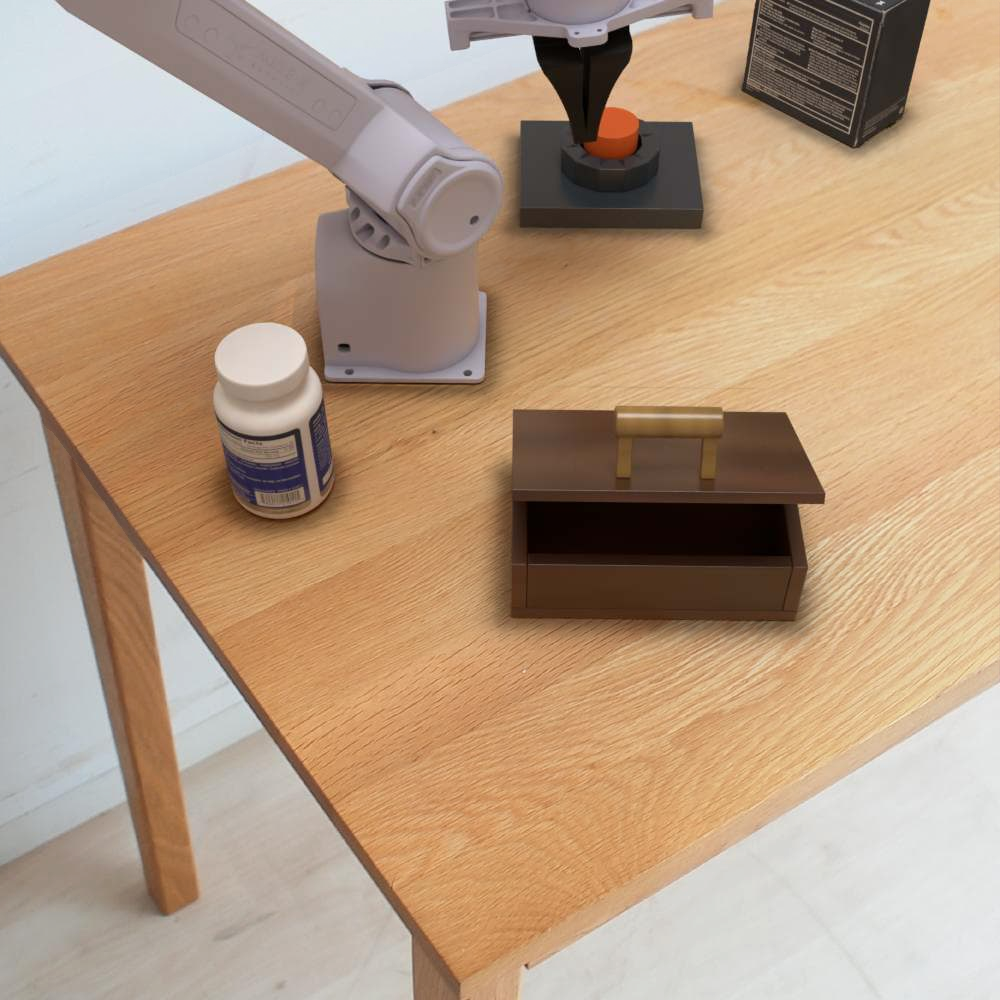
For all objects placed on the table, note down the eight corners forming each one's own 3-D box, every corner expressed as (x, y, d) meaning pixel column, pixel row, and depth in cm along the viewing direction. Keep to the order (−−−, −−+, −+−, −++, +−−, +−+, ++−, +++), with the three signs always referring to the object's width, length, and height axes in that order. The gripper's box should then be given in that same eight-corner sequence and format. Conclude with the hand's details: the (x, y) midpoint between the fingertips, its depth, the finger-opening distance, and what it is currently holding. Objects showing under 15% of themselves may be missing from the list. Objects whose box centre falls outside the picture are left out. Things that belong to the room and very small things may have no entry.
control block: (519, 228, 95) (520, 184, 93) (520, 140, 102) (520, 97, 99) (701, 230, 95) (707, 186, 93) (690, 142, 102) (695, 98, 99)
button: (583, 160, 95) (585, 137, 94) (582, 129, 98) (583, 106, 96) (638, 161, 95) (640, 138, 94) (635, 129, 97) (637, 107, 96)
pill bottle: (283, 432, 83) (262, 299, 75) (356, 479, 80) (341, 346, 73) (210, 489, 80) (180, 357, 73) (283, 540, 78) (260, 408, 70)
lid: (824, 504, 67) (833, 422, 66) (511, 501, 67) (512, 419, 66) (785, 422, 77) (791, 348, 76) (512, 419, 77) (513, 346, 76)
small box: (909, 115, 104) (942, -21, 96) (855, 151, 101) (884, 14, 93) (792, 57, 109) (815, -76, 101) (737, 91, 106) (756, -44, 98)
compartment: (795, 620, 74) (808, 568, 71) (510, 617, 74) (511, 564, 71) (773, 475, 81) (784, 421, 77) (512, 473, 81) (512, 418, 78)
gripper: (443, -23, 72) (468, 191, 83) (730, -59, 72) (718, 159, 83) (432, -95, 77) (457, 116, 87) (702, -130, 77) (694, 86, 87)
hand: (583, 132), depth 85 cm, fingers closed
